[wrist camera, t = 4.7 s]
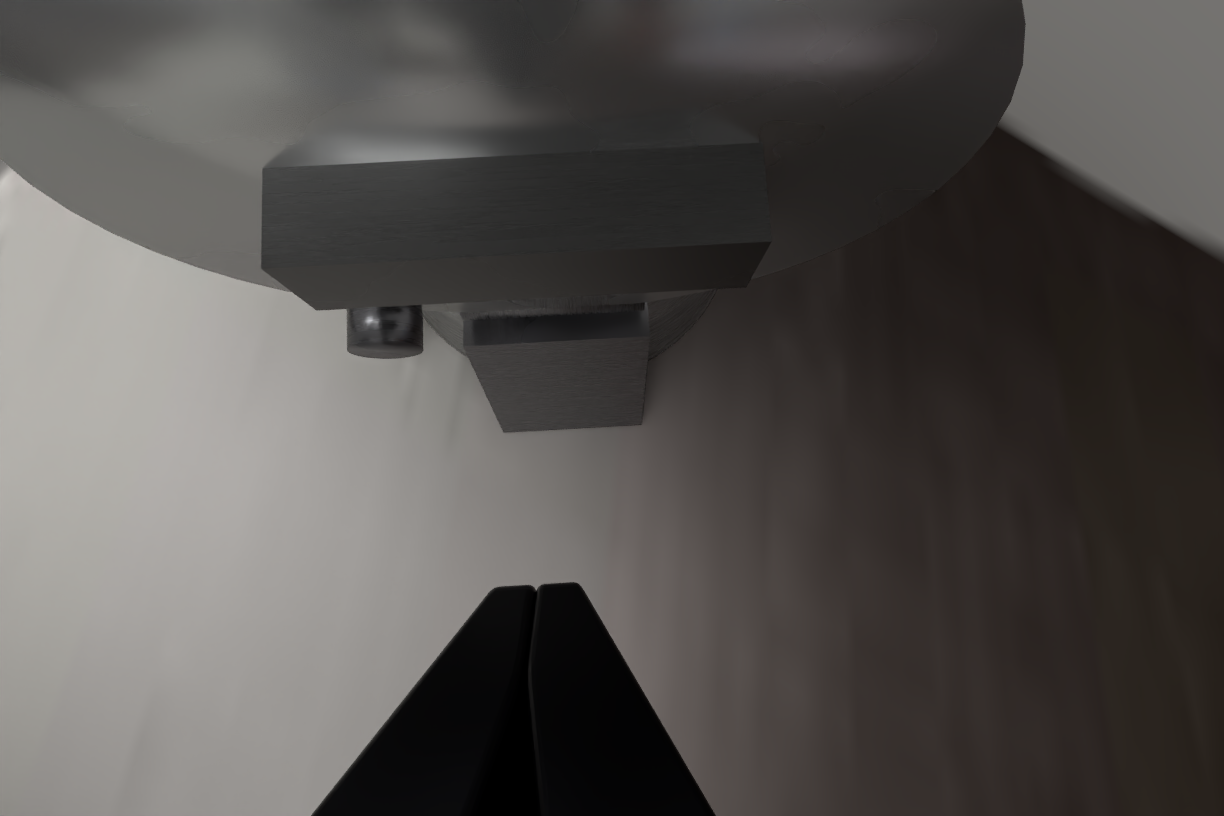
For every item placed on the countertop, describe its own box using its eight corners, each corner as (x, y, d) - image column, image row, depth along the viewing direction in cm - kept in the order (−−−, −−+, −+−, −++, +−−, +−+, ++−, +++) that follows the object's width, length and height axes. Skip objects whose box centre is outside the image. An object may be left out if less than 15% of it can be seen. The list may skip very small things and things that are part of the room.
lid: (825, 256, 13) (835, 361, 13) (278, 285, 13) (277, 391, 13) (1393, -466, 4) (1482, -121, 3) (-622, -378, 4) (-701, -18, 3)
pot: (308, 443, 18) (198, 361, 13) (333, 105, 21) (251, -60, 16) (834, 414, 18) (911, 322, 13) (781, 82, 21) (828, -88, 16)
